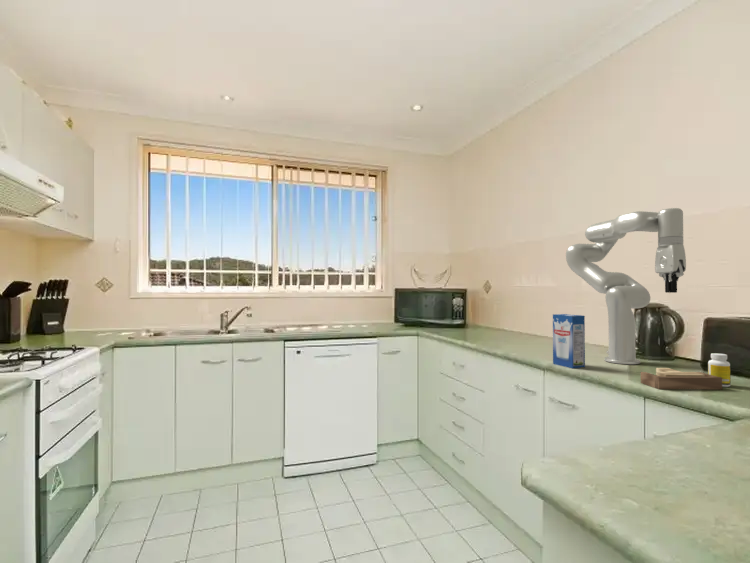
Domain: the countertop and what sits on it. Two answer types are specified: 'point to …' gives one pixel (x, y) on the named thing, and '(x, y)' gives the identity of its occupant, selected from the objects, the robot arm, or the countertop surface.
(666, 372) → the t block
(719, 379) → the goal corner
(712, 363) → the supplement bottle
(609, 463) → the countertop surface
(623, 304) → the robot arm
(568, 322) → the milk carton
